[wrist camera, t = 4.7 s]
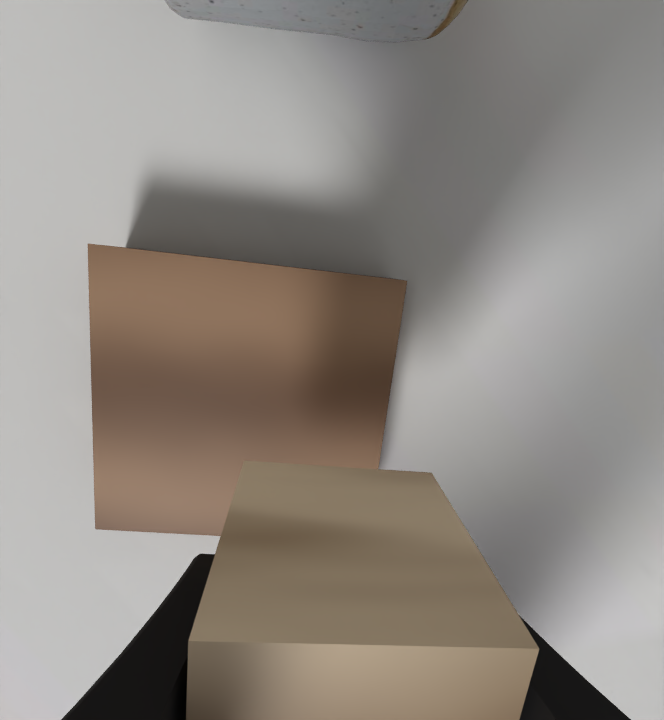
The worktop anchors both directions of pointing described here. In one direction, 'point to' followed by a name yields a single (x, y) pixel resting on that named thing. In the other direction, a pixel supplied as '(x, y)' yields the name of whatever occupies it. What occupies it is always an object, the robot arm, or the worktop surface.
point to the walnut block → (228, 379)
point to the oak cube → (352, 605)
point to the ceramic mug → (331, 16)
